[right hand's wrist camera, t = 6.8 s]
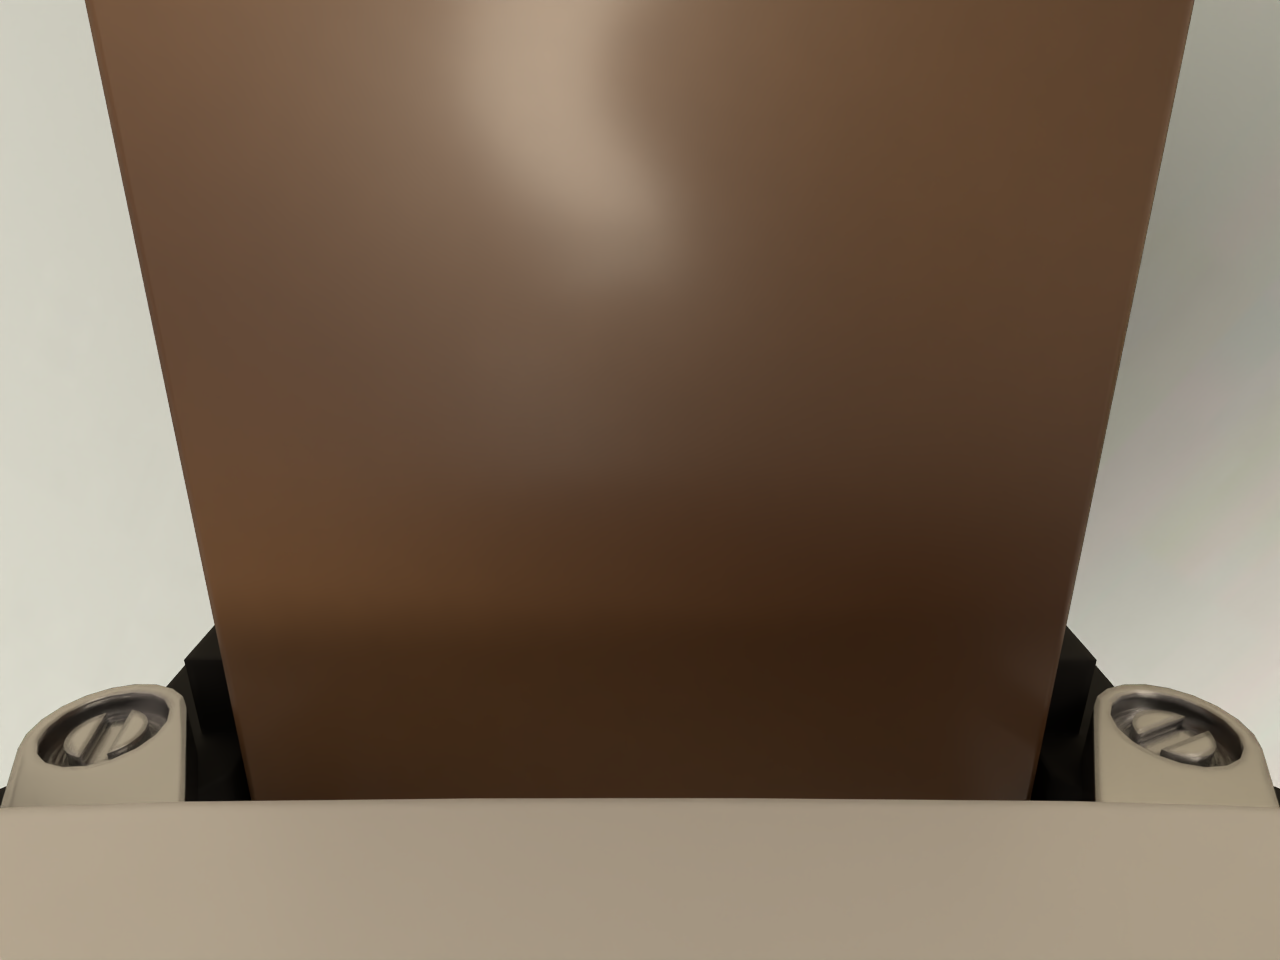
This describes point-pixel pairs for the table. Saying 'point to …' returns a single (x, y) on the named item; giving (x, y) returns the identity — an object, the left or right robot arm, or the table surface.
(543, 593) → the beam
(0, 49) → the table surface
